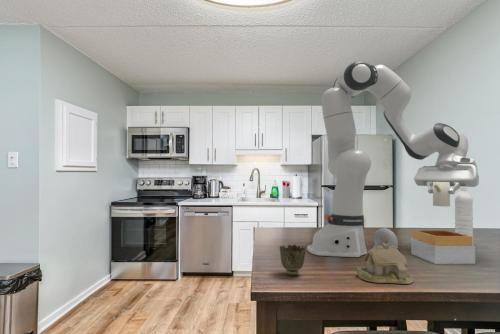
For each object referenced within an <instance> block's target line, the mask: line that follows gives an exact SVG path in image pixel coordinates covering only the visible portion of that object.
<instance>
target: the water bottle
mask: <svg viewBox="0 0 500 334" xmlns="http://www.w3.org/2000/svg"><path fill="white" fill-rule="evenodd" d="M473 202H474V201H473V197H472V196H471V194H470V192H468V190H467V187H460V188H459V191H458V192H457V194H456V195H455V196H454V225H455V226H454V232H456V233H460V234H464V235H468V236H472V242H473V243H474V229H473V228H474V222H473V221H474V216H473V212H474V211H473Z"/></svg>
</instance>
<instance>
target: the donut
mask: <svg viewBox="0 0 500 334" xmlns="http://www.w3.org/2000/svg"><path fill="white" fill-rule="evenodd" d="M372 239H373V240H372V242H373V245H374V246H382V244H383V243H384V241H383V239H386V240H387V244H388V245H389V246H395V247H396V249H397V250H398V248H399V241H398V240H399V239H398V237H397V235H396V233H394V232H393V230H391V229H390V228H387V227H386V228H385V227H381V228H379V229H377V230H376V231H375V232H374V235H373V238H372Z"/></svg>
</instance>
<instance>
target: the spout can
mask: <svg viewBox="0 0 500 334" xmlns="http://www.w3.org/2000/svg"><path fill="white" fill-rule="evenodd" d="M449 188H451V186H450V182H433V194H432V206H434V207H451V194H449Z"/></svg>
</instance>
